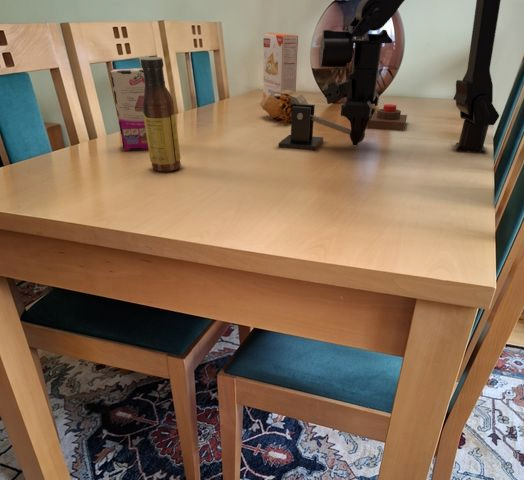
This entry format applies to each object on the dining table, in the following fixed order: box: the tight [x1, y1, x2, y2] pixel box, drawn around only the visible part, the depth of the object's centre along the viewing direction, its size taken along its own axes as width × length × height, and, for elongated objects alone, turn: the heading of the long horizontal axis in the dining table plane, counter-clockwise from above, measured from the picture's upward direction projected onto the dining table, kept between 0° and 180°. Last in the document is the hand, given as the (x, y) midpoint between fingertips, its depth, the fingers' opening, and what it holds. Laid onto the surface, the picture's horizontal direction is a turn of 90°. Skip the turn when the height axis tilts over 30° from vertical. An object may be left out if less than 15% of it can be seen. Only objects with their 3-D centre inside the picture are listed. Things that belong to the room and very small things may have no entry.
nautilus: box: [260, 89, 309, 126], centre depth 137 cm, size 8×22×15 cm
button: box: [382, 103, 397, 112], centre depth 132 cm, size 4×4×2 cm
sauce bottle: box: [140, 56, 181, 173], centre depth 91 cm, size 7×6×20 cm
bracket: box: [278, 103, 324, 152], centre depth 112 cm, size 9×10×9 cm
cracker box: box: [262, 32, 299, 100], centre depth 153 cm, size 14×6×21 cm, turn 25°
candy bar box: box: [109, 67, 149, 152], centre depth 107 cm, size 11×5×16 cm, turn 105°
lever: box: [300, 106, 366, 144], centre depth 110 cm, size 17×4×4 cm, turn 72°
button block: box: [366, 108, 408, 132], centre depth 134 cm, size 12×10×4 cm
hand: (356, 143), depth 111 cm, fingers closed on lever, 3 cm apart
